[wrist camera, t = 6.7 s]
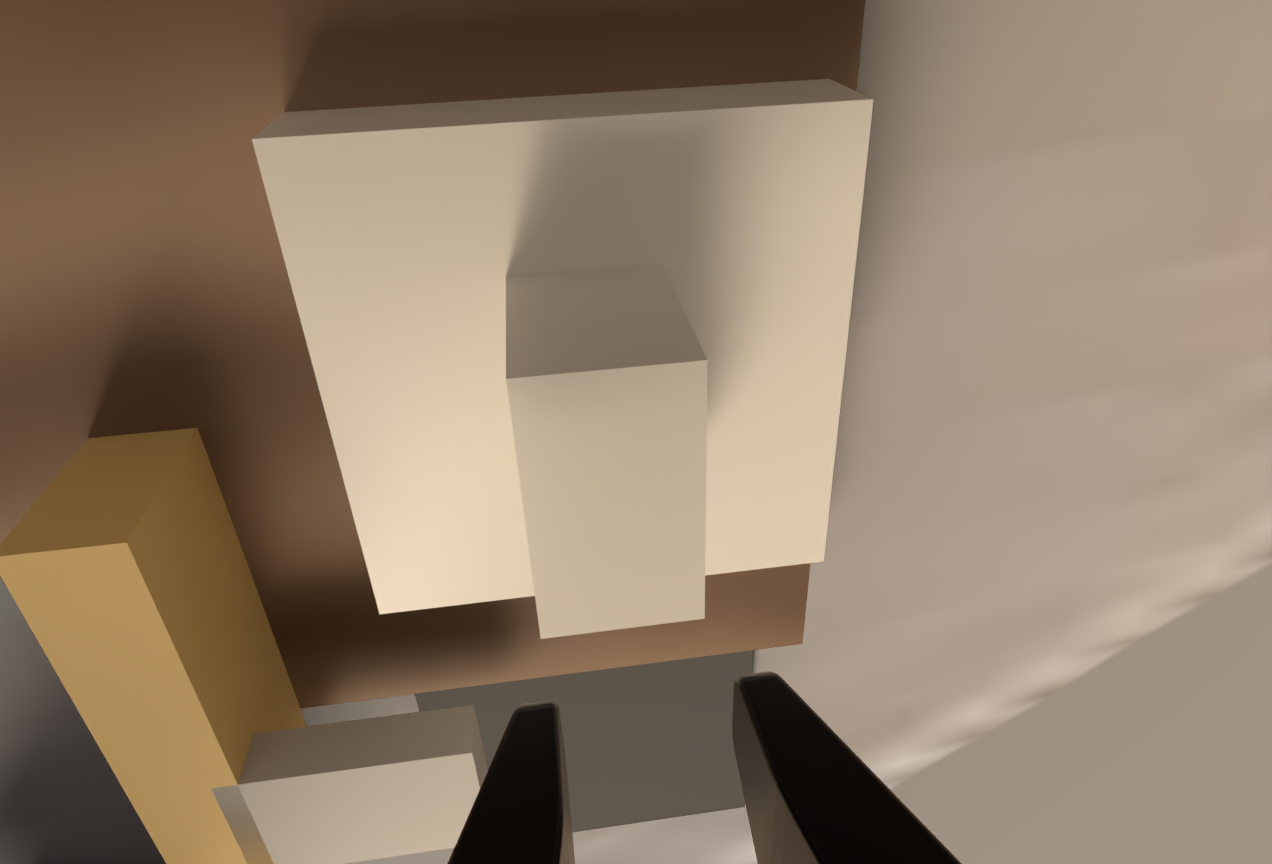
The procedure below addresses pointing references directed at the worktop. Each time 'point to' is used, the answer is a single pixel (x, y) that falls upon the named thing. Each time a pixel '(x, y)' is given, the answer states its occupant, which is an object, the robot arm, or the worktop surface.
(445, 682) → the base box
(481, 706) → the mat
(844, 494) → the worktop surface
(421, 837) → the tan rectangular block
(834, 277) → the cover
